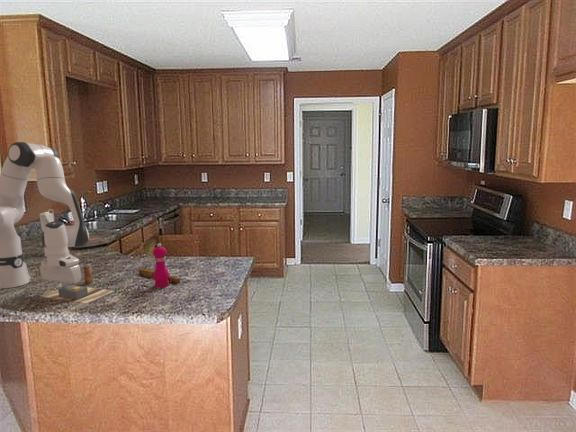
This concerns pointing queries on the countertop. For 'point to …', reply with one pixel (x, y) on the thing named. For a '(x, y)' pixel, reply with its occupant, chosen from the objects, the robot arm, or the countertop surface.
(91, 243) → the serving board
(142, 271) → the tap handle
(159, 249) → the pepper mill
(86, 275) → the awl
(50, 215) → the skyscraper
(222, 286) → the countertop surface
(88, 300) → the subfloor panel
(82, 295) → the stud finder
